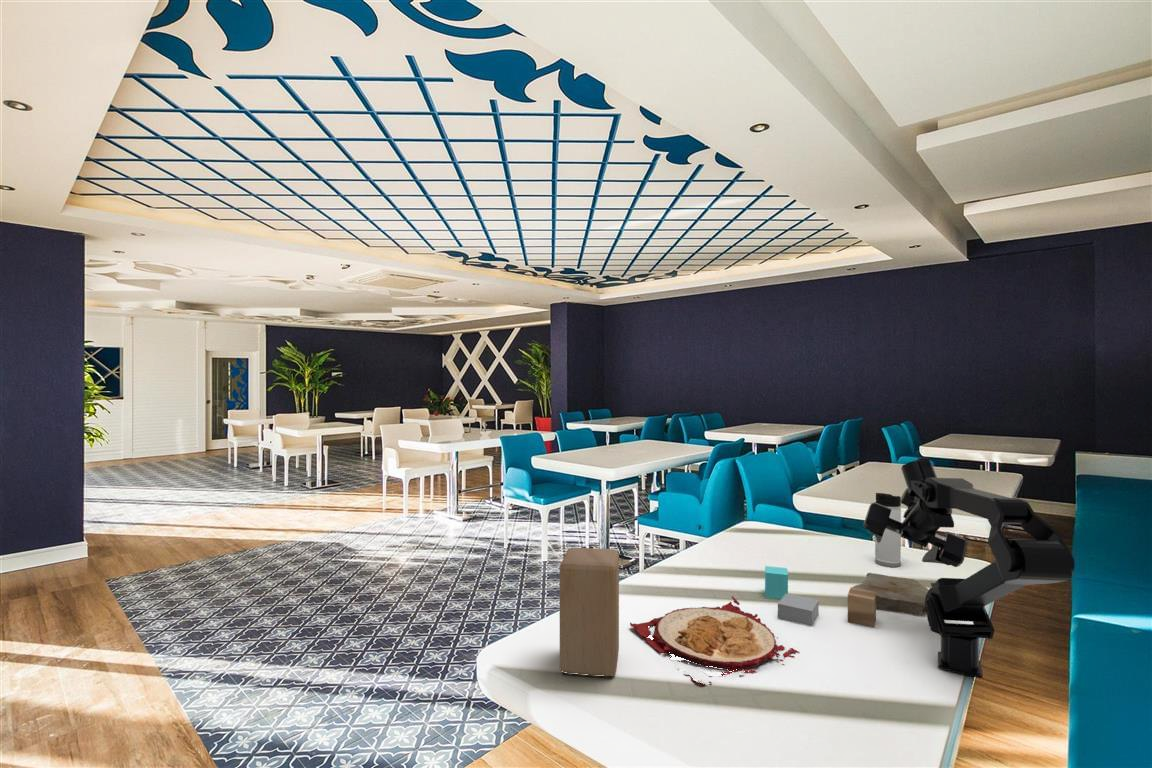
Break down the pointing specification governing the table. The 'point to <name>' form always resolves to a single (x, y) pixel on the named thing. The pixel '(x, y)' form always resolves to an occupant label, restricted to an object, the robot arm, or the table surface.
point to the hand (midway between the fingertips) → (900, 550)
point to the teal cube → (776, 582)
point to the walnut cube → (862, 607)
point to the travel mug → (889, 534)
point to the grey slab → (798, 609)
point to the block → (589, 611)
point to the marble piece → (896, 593)
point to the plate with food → (714, 637)
